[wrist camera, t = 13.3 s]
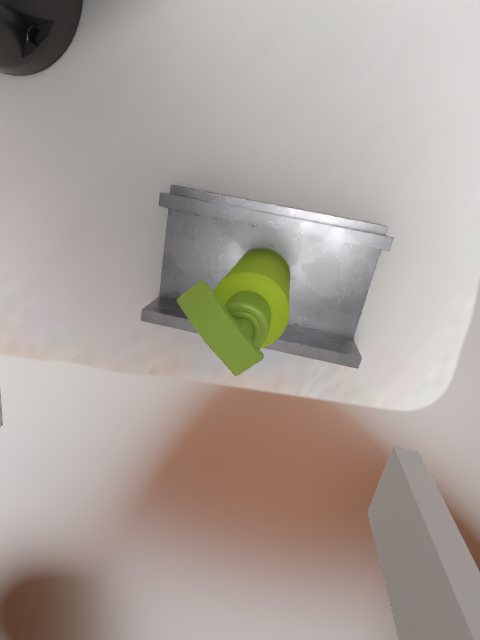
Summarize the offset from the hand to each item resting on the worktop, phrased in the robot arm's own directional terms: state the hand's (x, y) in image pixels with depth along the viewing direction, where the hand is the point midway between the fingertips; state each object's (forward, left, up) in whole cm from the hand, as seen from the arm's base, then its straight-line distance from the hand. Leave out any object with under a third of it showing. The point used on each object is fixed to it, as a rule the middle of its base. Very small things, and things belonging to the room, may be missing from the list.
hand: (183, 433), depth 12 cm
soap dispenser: (0, 0, -28) cm, 28 cm away
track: (0, +1, -29) cm, 29 cm away
